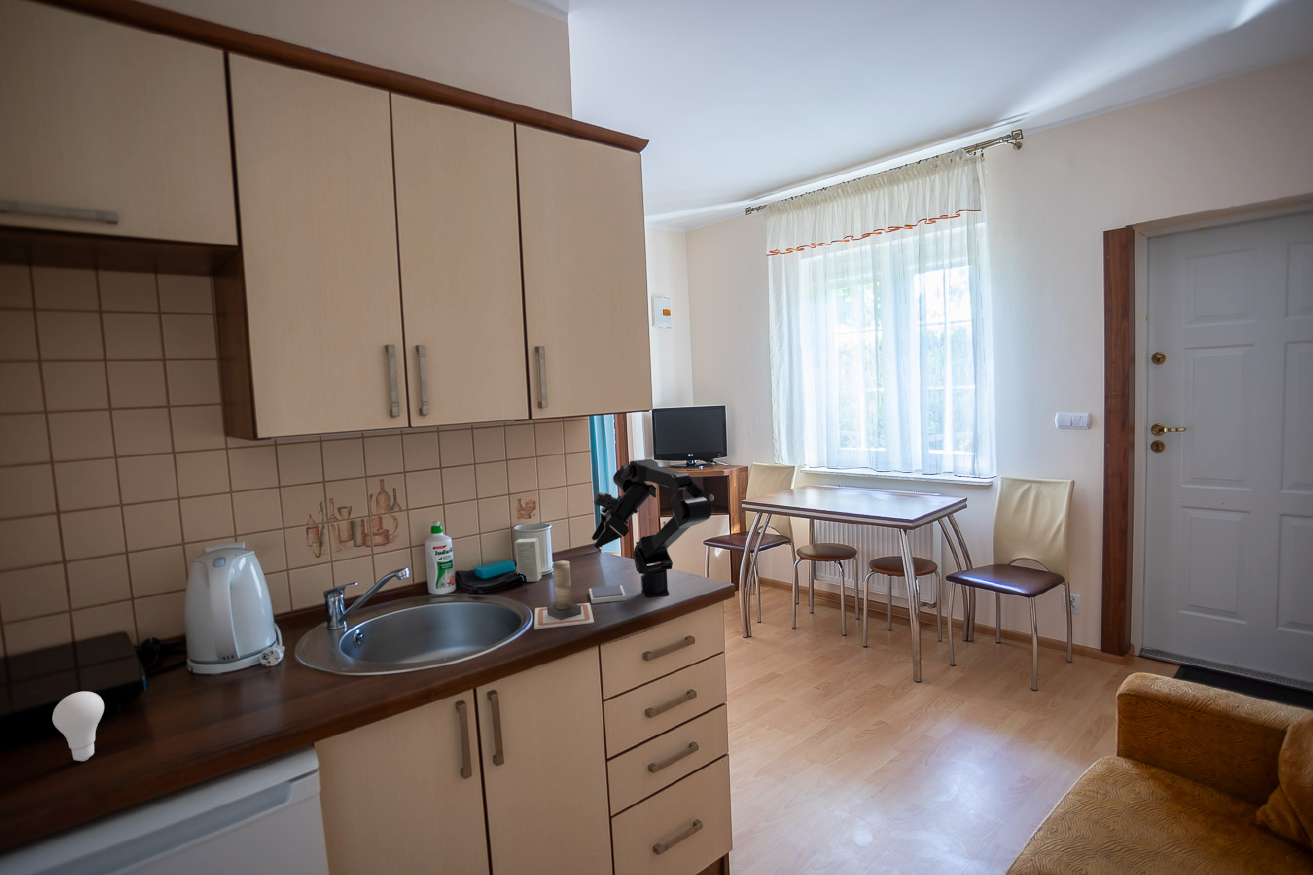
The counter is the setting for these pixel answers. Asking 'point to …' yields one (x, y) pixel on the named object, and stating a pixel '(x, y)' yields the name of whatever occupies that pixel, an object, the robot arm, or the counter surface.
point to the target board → (548, 621)
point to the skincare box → (528, 558)
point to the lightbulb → (79, 722)
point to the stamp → (563, 593)
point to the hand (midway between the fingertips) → (594, 543)
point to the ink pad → (607, 594)
